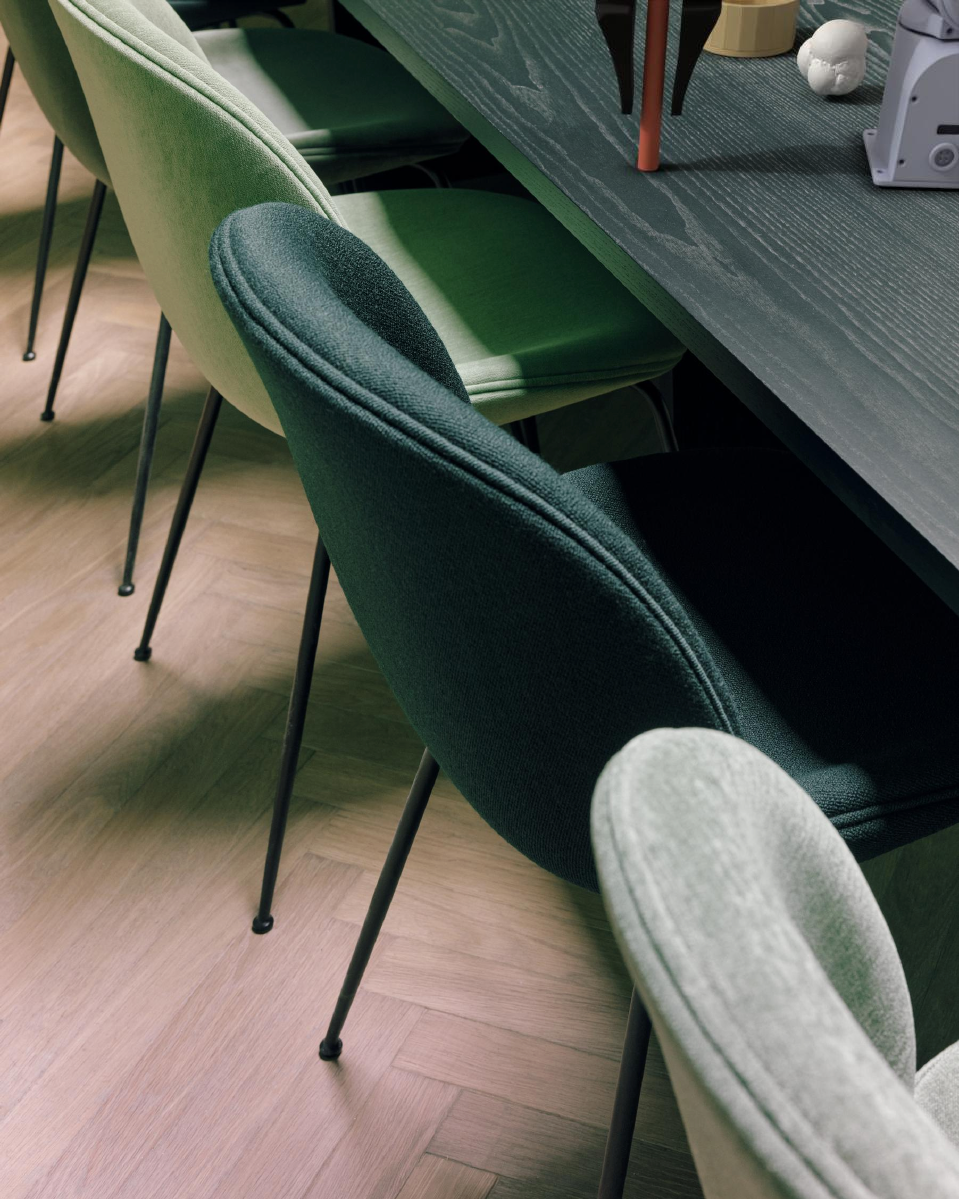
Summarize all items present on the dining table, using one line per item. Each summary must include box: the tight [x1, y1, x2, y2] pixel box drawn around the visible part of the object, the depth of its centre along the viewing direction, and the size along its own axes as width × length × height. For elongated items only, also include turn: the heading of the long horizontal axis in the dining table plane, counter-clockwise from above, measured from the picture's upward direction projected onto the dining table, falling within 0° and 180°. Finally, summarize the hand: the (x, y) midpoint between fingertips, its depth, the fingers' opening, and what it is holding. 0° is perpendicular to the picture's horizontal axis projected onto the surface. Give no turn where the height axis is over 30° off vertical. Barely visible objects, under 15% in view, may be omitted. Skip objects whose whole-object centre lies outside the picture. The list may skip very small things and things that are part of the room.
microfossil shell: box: [796, 18, 868, 96], centre depth 92 cm, size 4×5×6 cm
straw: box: [637, 0, 671, 172], centre depth 80 cm, size 1×1×11 cm
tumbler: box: [703, 0, 801, 58], centre depth 103 cm, size 8×8×4 cm
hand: (651, 110), depth 81 cm, fingers open, 3 cm apart
